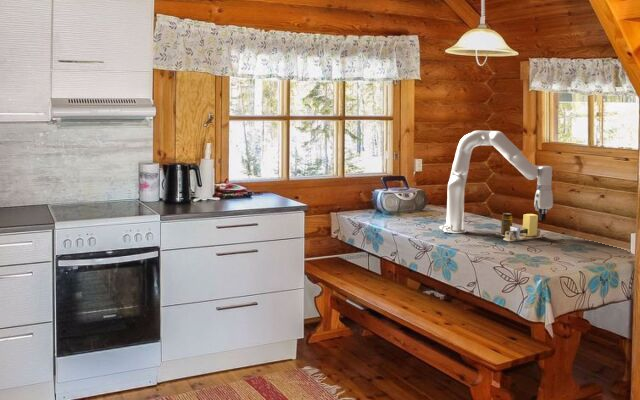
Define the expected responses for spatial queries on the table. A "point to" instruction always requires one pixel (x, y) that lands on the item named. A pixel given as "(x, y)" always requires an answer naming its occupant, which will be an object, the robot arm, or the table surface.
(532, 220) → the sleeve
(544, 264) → the table surface
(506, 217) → the condiment
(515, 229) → the grey slab
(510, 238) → the cord rig
